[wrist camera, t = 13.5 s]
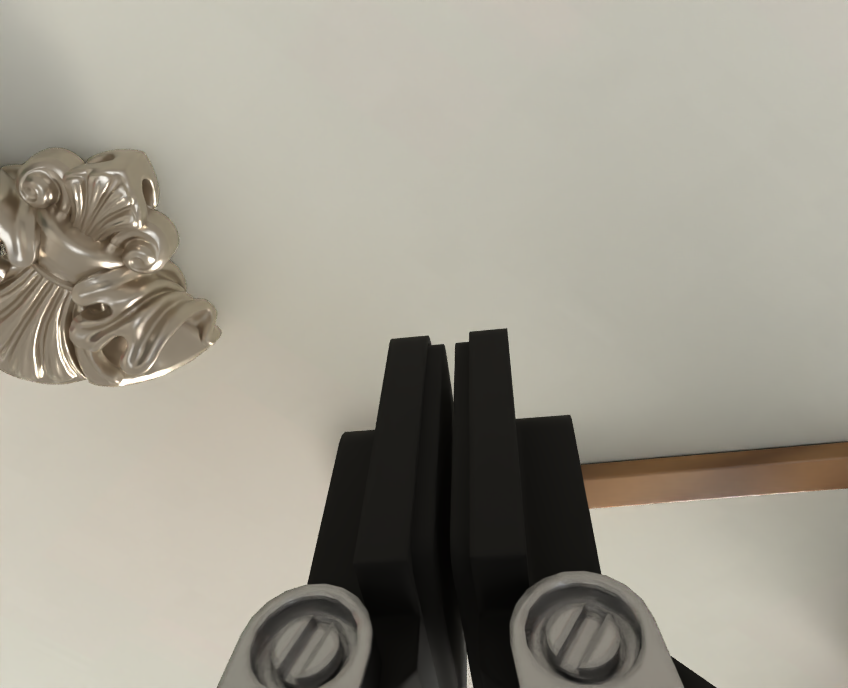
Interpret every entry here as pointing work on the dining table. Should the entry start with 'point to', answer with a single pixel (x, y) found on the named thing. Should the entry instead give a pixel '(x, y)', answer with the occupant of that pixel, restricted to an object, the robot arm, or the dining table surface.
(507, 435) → the robot arm
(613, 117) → the dining table surface
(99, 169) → the ornament
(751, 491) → the spoon
